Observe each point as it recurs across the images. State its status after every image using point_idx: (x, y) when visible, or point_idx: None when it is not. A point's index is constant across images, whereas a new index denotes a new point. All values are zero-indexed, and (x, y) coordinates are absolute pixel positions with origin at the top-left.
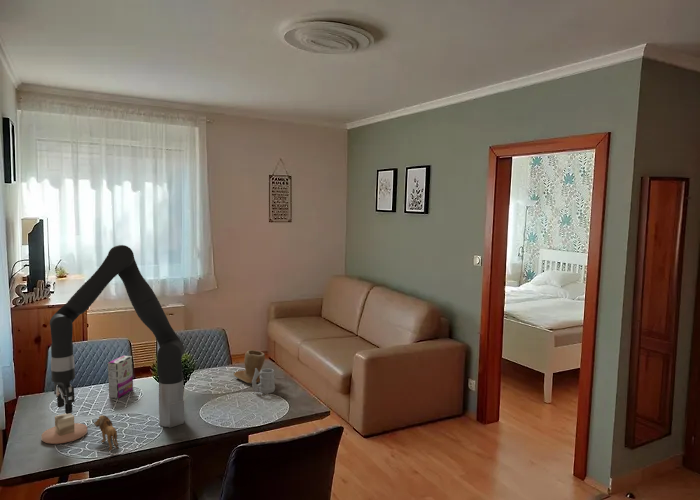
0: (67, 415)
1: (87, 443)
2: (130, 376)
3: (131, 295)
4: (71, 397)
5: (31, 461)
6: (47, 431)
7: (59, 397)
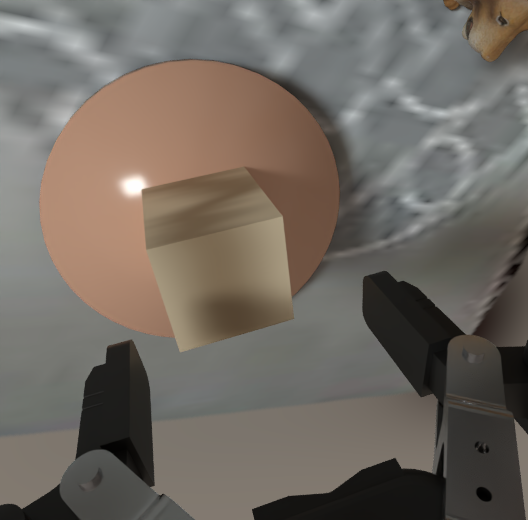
0: (226, 266)
1: (400, 100)
2: None
3: None
4: (504, 399)
5: None
6: (138, 314)
7: (140, 476)
